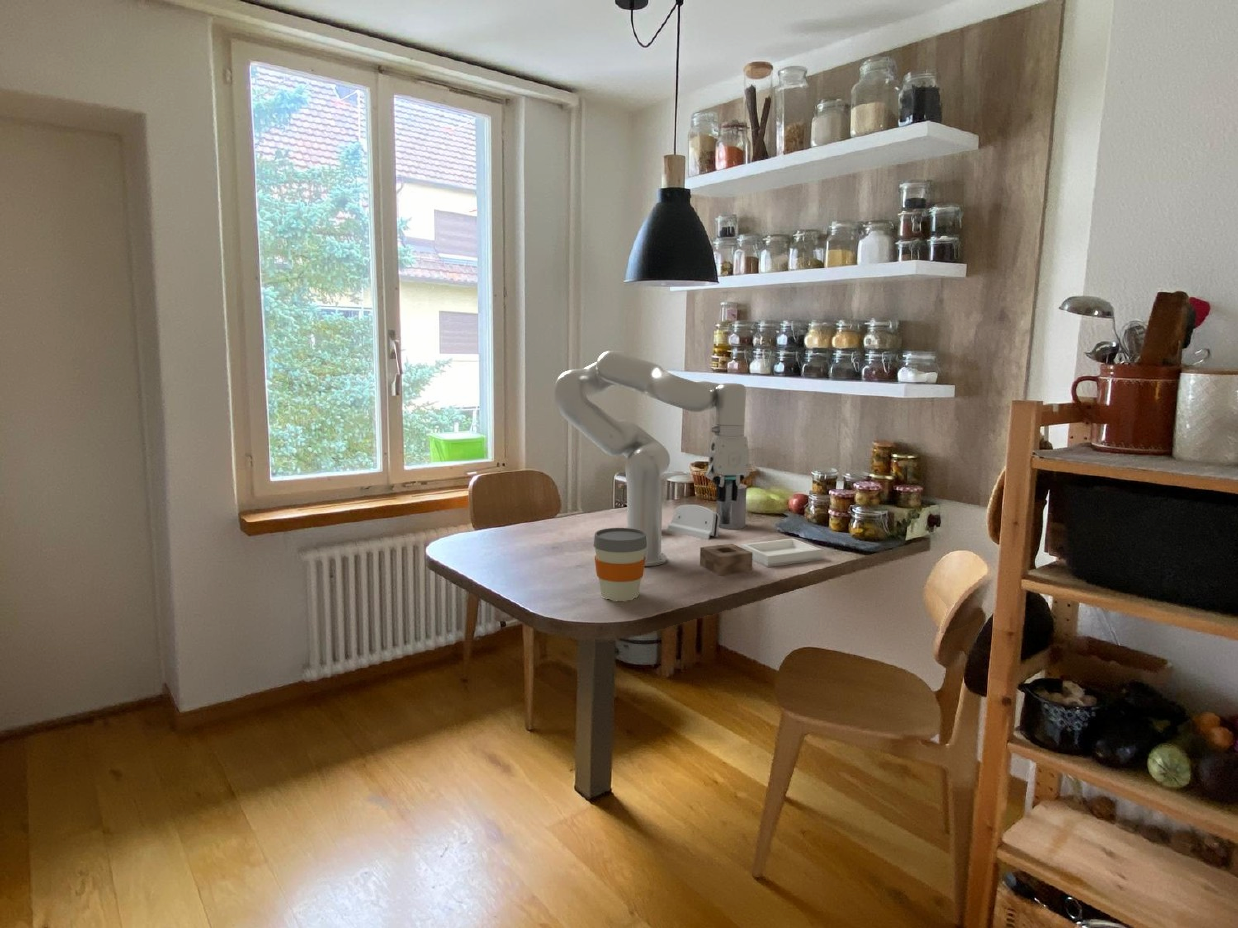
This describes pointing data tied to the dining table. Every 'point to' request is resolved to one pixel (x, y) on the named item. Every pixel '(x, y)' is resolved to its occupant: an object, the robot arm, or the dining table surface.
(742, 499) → the pillar candle
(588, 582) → the dining table surface
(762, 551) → the tray
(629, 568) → the reusable coffee cup
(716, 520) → the hinge
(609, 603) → the dining table surface
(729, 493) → the steel pin
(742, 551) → the socket block
